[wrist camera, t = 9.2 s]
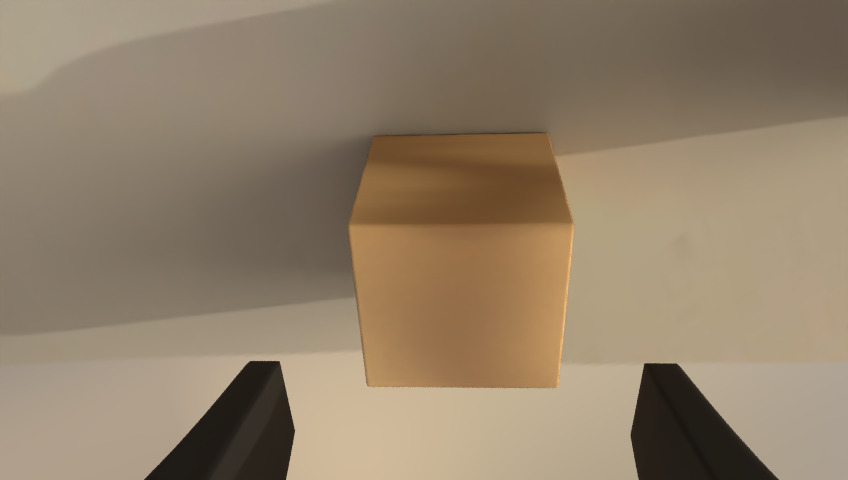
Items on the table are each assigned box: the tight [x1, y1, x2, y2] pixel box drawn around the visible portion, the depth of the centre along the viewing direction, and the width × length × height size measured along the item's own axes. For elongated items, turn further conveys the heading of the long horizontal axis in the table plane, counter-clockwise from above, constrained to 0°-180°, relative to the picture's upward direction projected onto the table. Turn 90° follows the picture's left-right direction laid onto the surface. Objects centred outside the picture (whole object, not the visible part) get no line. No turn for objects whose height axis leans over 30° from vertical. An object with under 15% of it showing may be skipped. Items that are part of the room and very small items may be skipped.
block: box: [347, 133, 574, 388], centre depth 17 cm, size 5×5×5 cm
